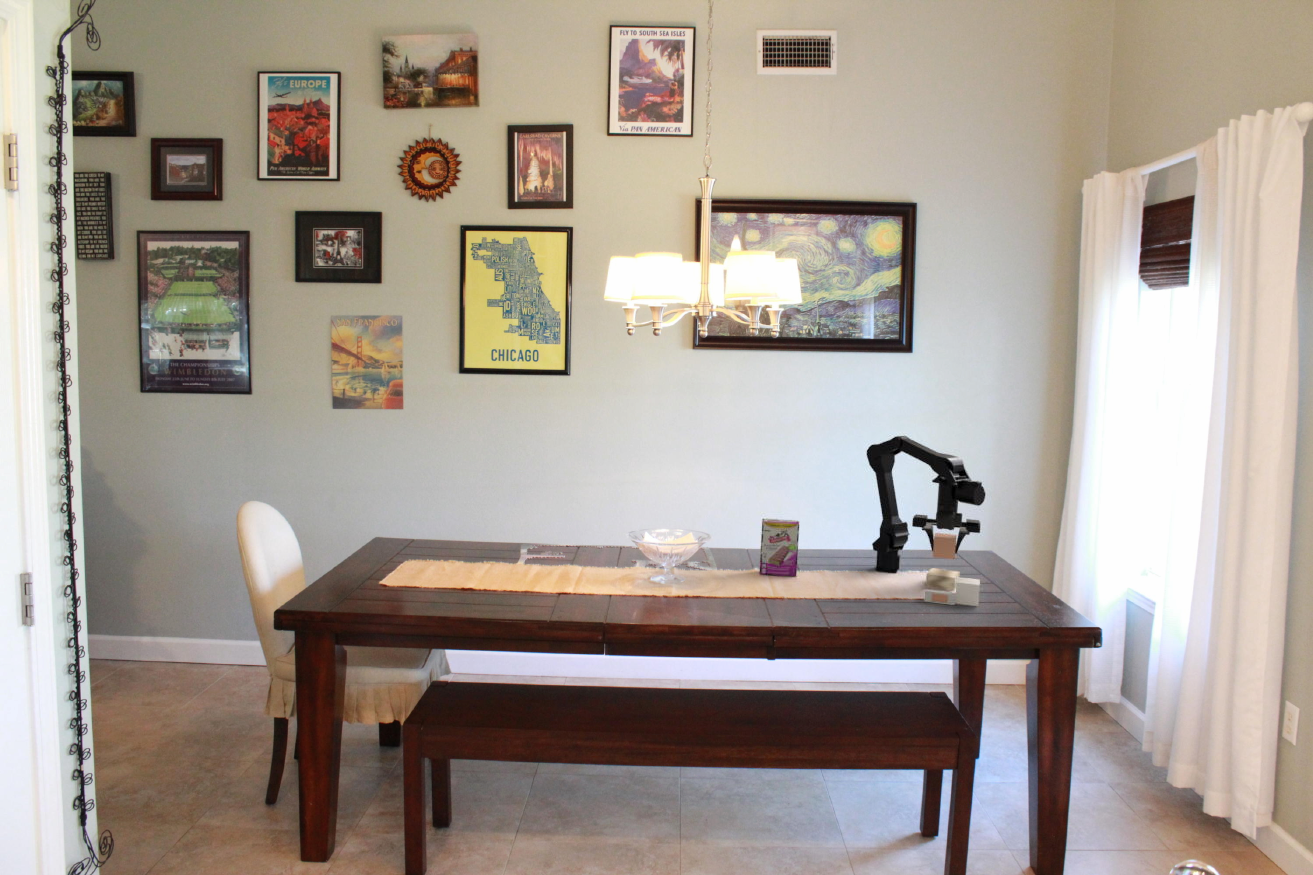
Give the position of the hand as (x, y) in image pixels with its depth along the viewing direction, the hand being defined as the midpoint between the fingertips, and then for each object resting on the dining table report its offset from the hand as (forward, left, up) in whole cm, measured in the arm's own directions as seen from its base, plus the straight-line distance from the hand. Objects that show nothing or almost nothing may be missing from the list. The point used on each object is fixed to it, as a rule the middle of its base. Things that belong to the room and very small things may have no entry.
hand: (944, 552), depth 264 cm
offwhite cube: (+7, -15, -10) cm, 19 cm away
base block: (0, 0, -10) cm, 10 cm away
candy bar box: (-47, -9, -10) cm, 49 cm away
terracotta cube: (0, 0, -1) cm, 1 cm away
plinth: (0, -19, -10) cm, 21 cm away
